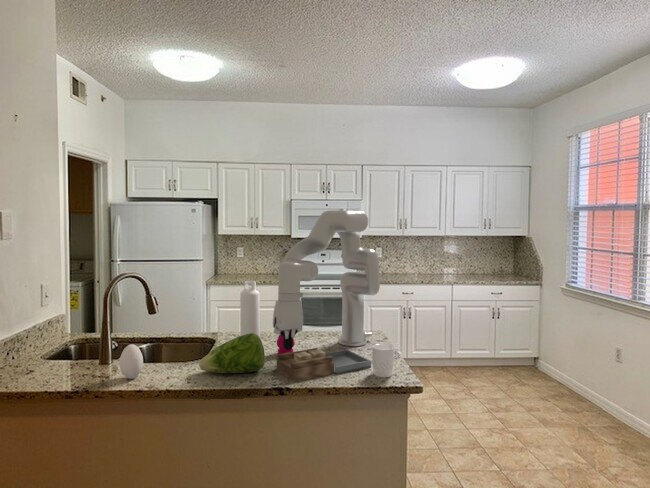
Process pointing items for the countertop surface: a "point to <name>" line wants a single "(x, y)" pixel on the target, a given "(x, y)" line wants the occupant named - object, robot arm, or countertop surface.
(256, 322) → the bottle
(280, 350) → the pepper mill
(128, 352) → the egg
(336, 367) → the tray
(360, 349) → the countertop surface
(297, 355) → the chip
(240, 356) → the lettuce
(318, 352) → the chip
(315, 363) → the brown wooden box
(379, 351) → the white cup
